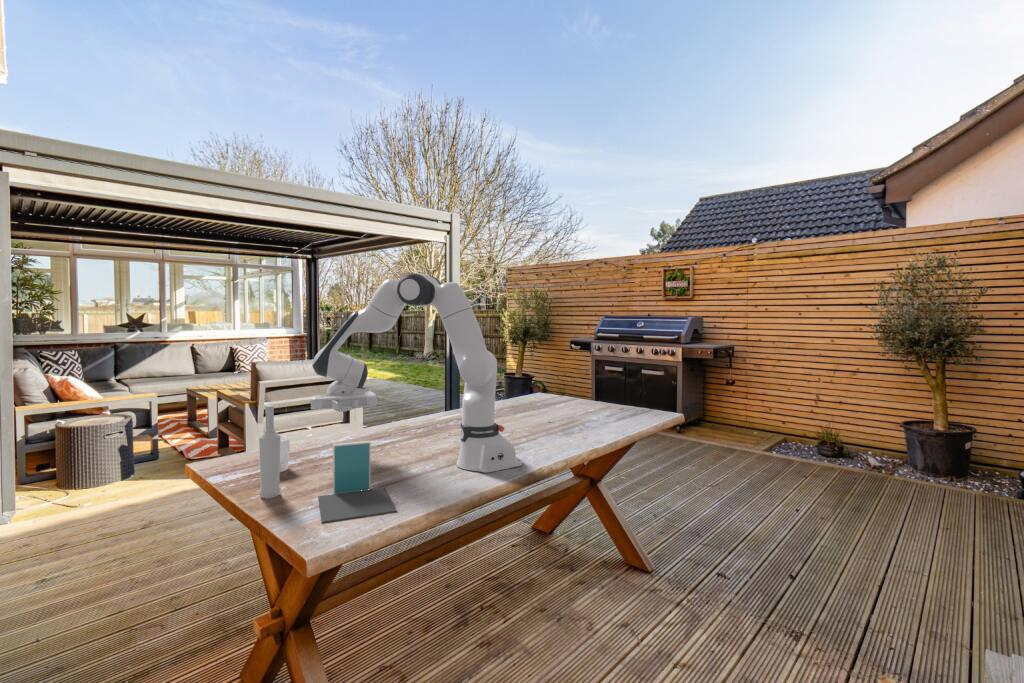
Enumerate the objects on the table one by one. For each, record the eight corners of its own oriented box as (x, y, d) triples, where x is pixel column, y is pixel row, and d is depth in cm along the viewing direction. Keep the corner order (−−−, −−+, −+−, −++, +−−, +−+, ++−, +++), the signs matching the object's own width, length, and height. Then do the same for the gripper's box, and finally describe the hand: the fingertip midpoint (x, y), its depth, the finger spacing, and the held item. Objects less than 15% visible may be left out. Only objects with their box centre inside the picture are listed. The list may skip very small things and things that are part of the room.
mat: (384, 488, 139) (384, 487, 139) (396, 511, 123) (396, 510, 123) (318, 497, 131) (318, 496, 131) (321, 523, 115) (321, 521, 115)
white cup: (260, 474, 149) (259, 443, 148) (265, 466, 156) (265, 436, 156) (287, 473, 151) (287, 441, 150) (292, 465, 158) (291, 435, 158)
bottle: (275, 490, 136) (274, 403, 134) (284, 495, 132) (283, 405, 131) (256, 495, 132) (255, 405, 130) (264, 500, 128) (264, 408, 127)
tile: (369, 488, 139) (369, 440, 138) (370, 490, 138) (370, 442, 137) (333, 493, 135) (333, 444, 134) (333, 494, 134) (333, 445, 133)
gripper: (308, 390, 157) (310, 397, 144) (372, 387, 165) (379, 393, 153) (308, 409, 157) (310, 417, 145) (372, 405, 166) (379, 413, 153)
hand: (346, 405), depth 149 cm, fingers open, 3 cm apart
